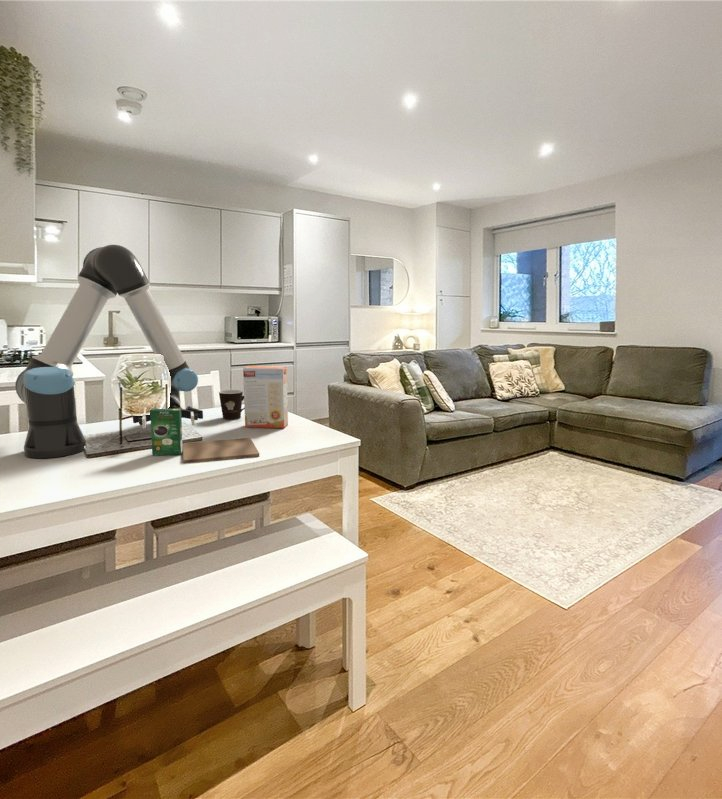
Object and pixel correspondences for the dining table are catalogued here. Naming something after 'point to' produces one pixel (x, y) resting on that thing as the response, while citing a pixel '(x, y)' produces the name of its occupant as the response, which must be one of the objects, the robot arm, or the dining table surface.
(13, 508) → the dining table surface
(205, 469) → the dining table surface
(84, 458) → the dining table surface
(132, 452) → the dining table surface
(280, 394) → the cracker box
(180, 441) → the coffee box
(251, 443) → the walnut board
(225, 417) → the coffee mug
